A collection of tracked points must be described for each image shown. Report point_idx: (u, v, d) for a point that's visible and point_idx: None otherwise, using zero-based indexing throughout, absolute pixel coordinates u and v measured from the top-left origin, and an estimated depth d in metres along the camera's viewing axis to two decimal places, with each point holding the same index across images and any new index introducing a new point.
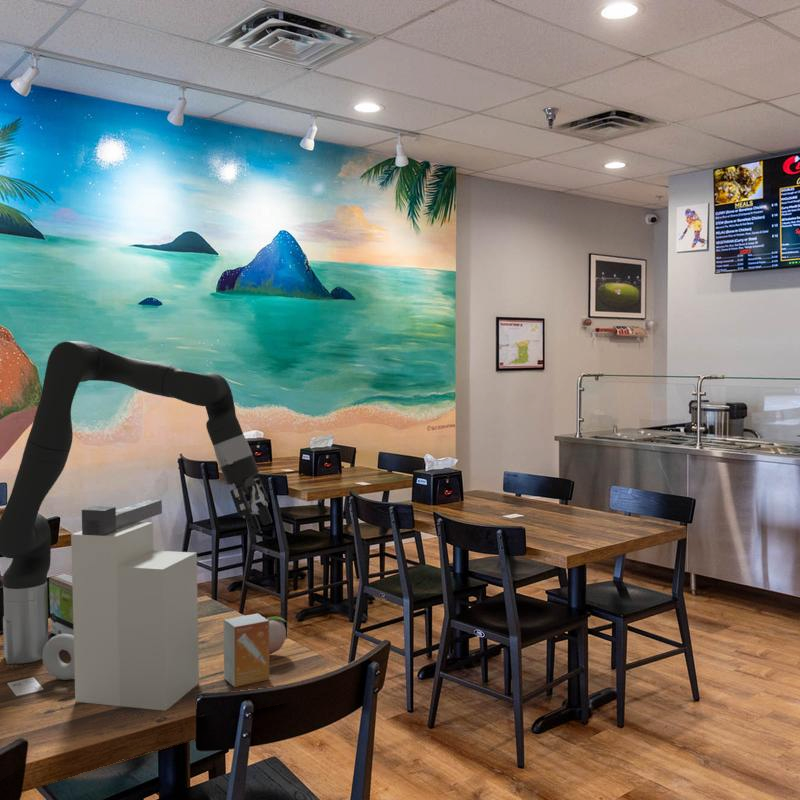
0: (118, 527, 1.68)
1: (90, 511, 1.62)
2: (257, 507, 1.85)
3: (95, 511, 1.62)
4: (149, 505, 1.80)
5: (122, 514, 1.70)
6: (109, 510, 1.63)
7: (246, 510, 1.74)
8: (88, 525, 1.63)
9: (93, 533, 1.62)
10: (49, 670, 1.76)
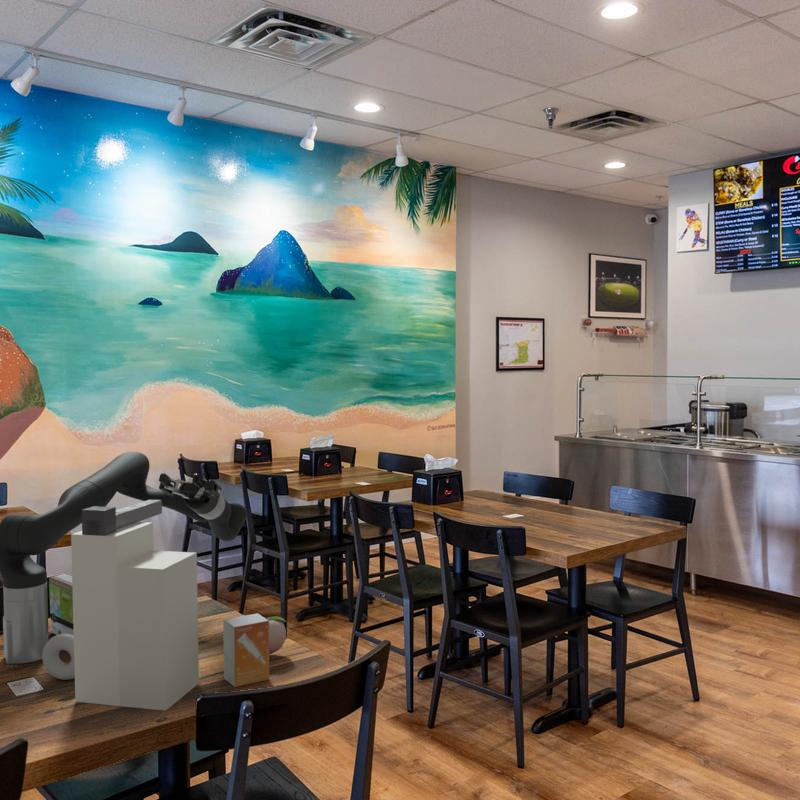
0: (118, 527, 1.68)
1: (90, 511, 1.62)
2: (200, 487, 1.98)
3: (95, 511, 1.62)
4: (149, 505, 1.80)
5: (122, 514, 1.70)
6: (109, 510, 1.63)
7: None
8: (88, 525, 1.63)
9: (93, 533, 1.62)
10: (49, 670, 1.76)
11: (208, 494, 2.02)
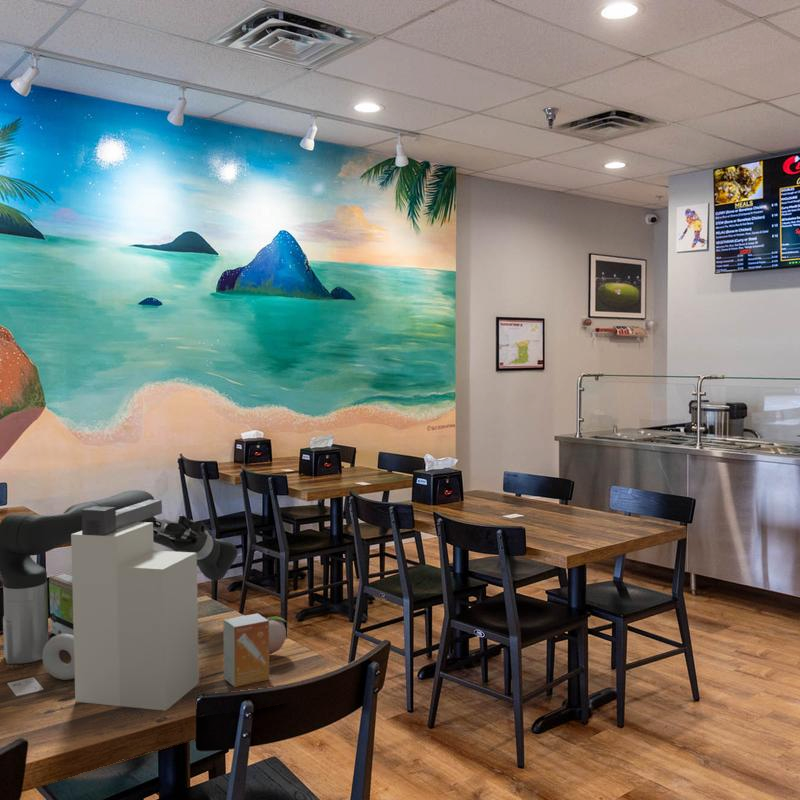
0: (118, 527, 1.68)
1: (90, 511, 1.62)
2: None
3: (95, 511, 1.62)
4: (149, 505, 1.80)
5: (122, 514, 1.70)
6: (109, 510, 1.63)
7: None
8: (88, 525, 1.63)
9: (93, 533, 1.62)
10: (49, 670, 1.76)
11: (195, 535, 1.94)
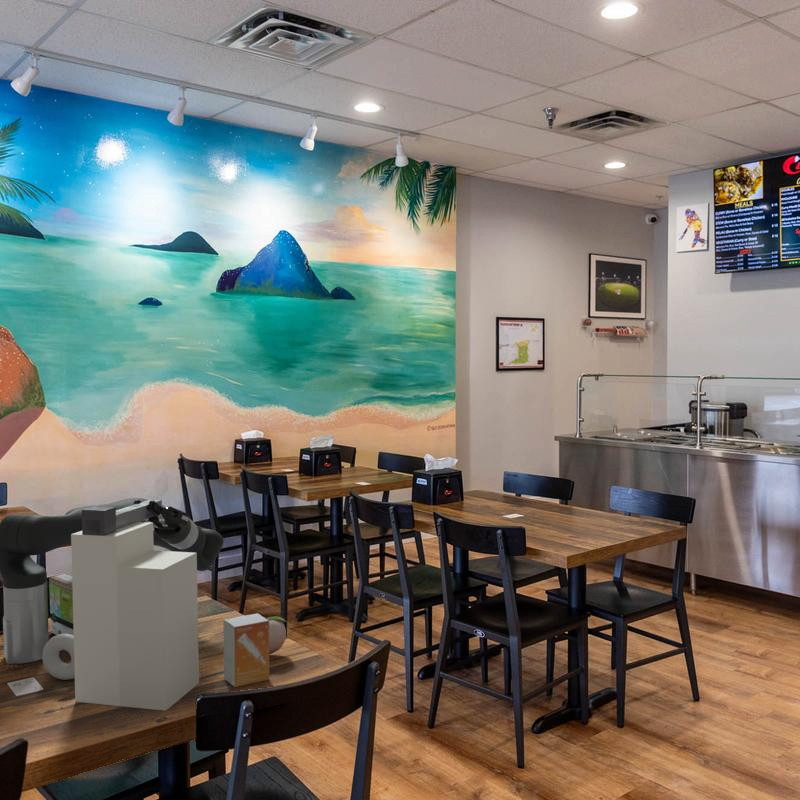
0: (118, 527, 1.68)
1: (90, 511, 1.62)
2: None
3: (95, 511, 1.62)
4: None
5: (122, 514, 1.70)
6: (109, 510, 1.63)
7: None
8: (88, 525, 1.63)
9: (93, 533, 1.62)
10: (49, 670, 1.76)
11: (177, 522, 1.88)
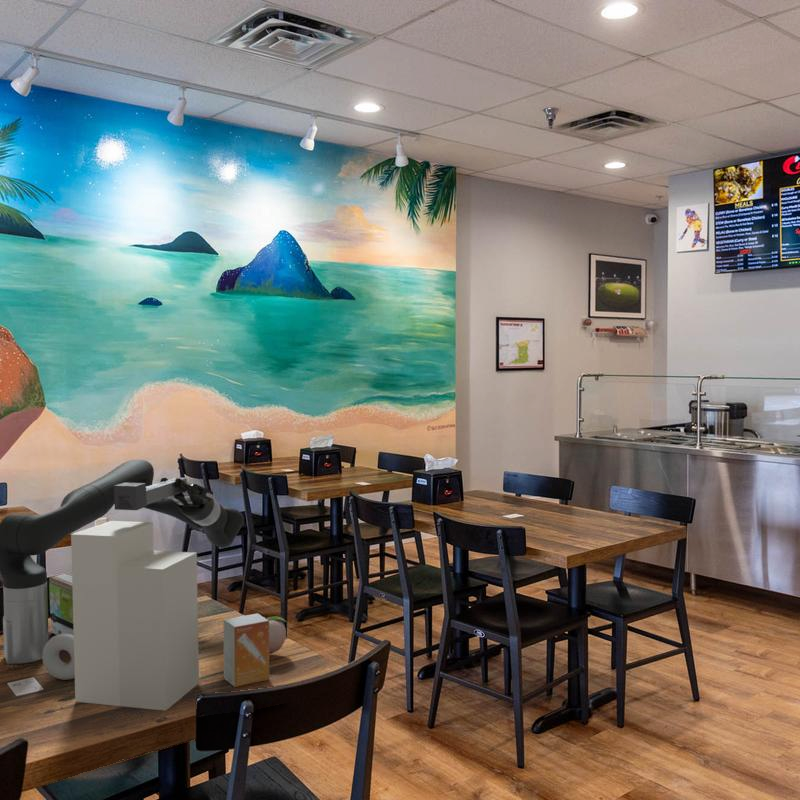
0: (148, 502, 1.76)
1: (122, 487, 1.70)
2: None
3: (127, 487, 1.70)
4: None
5: (151, 490, 1.77)
6: (140, 486, 1.71)
7: None
8: (120, 500, 1.70)
9: (125, 508, 1.70)
10: (49, 670, 1.76)
11: (201, 499, 1.95)
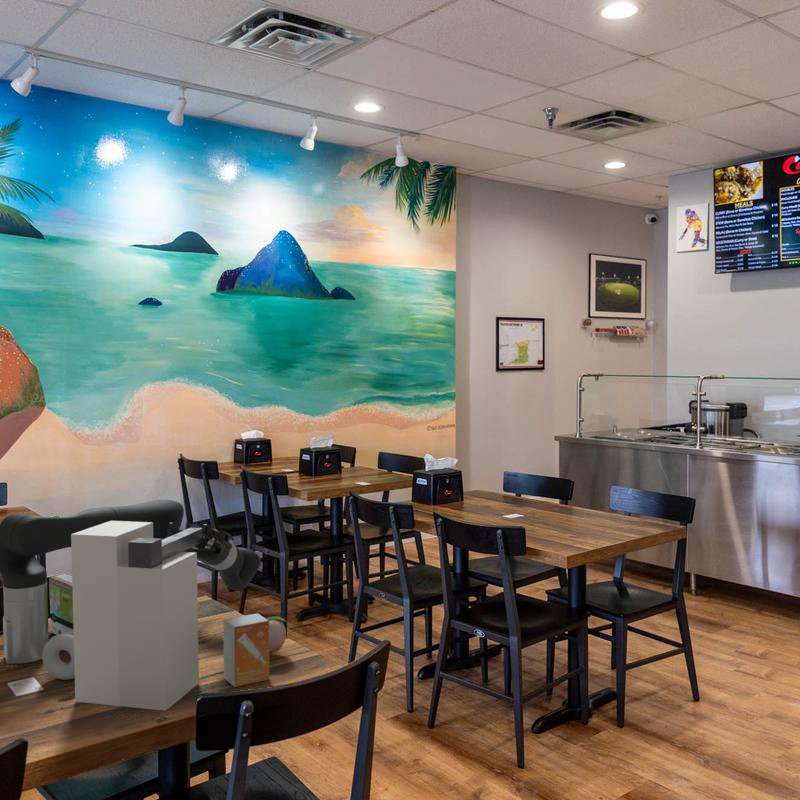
0: (163, 558, 1.67)
1: (137, 543, 1.60)
2: None
3: (142, 543, 1.60)
4: (192, 534, 1.78)
5: (167, 545, 1.68)
6: (156, 542, 1.62)
7: None
8: (135, 557, 1.61)
9: (140, 566, 1.61)
10: (49, 670, 1.76)
11: (219, 544, 1.86)
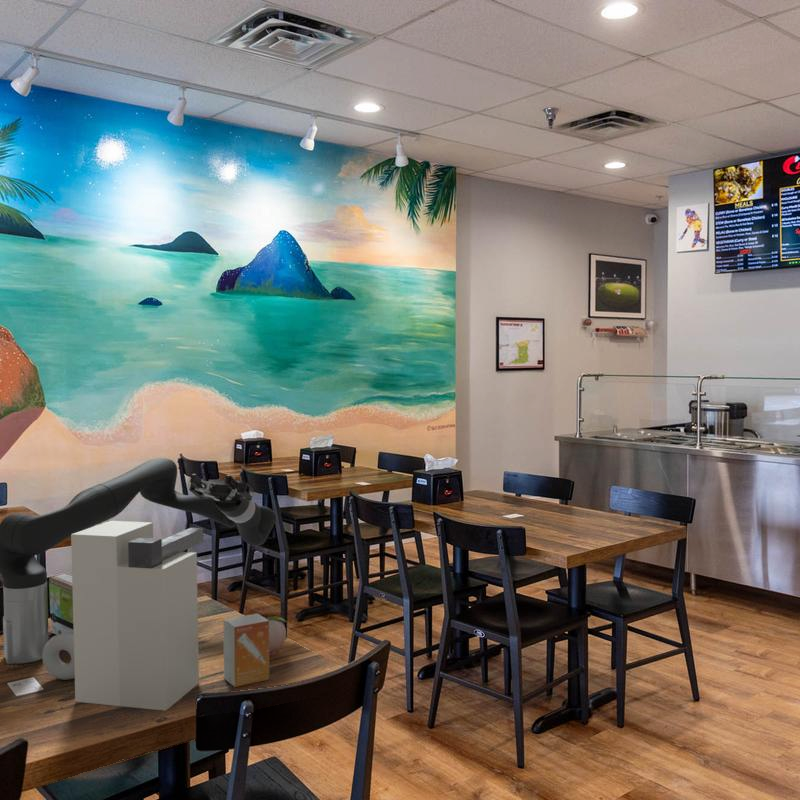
0: (163, 558, 1.67)
1: (137, 543, 1.60)
2: (232, 489, 1.92)
3: (142, 543, 1.60)
4: (192, 534, 1.78)
5: (167, 545, 1.68)
6: (156, 542, 1.62)
7: None
8: (135, 557, 1.61)
9: (140, 566, 1.61)
10: (49, 670, 1.76)
11: (240, 496, 1.96)
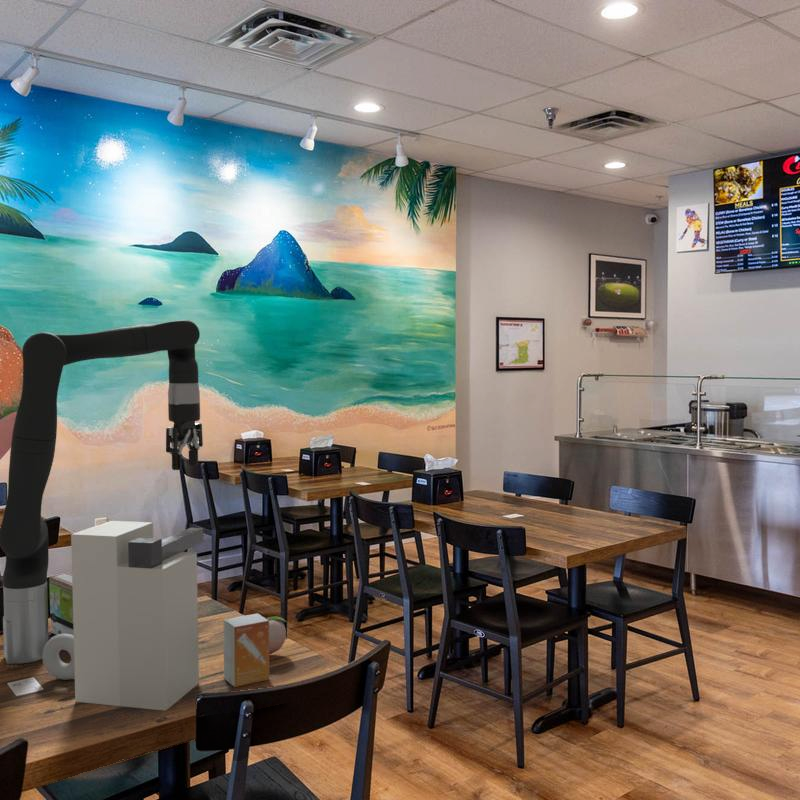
0: (163, 558, 1.67)
1: (137, 543, 1.60)
2: (189, 447, 2.06)
3: (142, 543, 1.60)
4: (192, 534, 1.78)
5: (167, 545, 1.68)
6: (156, 542, 1.62)
7: (173, 449, 1.95)
8: (135, 557, 1.61)
9: (140, 566, 1.61)
10: (49, 670, 1.76)
11: None
